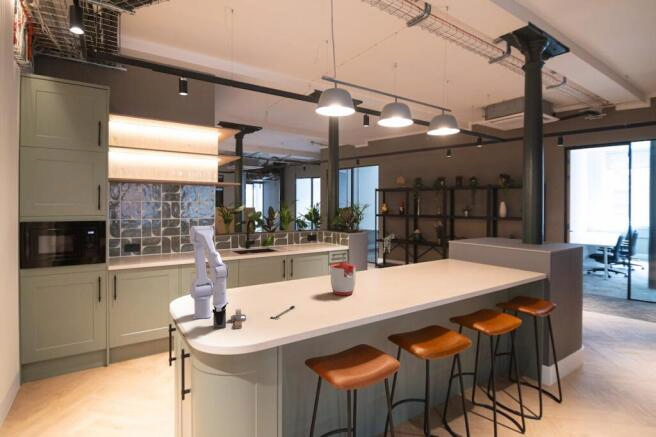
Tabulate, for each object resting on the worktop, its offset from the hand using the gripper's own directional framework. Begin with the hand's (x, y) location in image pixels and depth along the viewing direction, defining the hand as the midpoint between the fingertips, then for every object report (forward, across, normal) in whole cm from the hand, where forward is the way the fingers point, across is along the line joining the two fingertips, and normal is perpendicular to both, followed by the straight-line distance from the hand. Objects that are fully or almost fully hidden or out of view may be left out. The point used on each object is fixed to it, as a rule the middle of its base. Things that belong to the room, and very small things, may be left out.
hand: (219, 322), depth 161 cm
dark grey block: (+2, 0, 0) cm, 2 cm away
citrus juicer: (+2, +43, -70) cm, 82 cm away
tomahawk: (+2, +12, -31) cm, 34 cm away
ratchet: (+2, +3, -8) cm, 9 cm away
